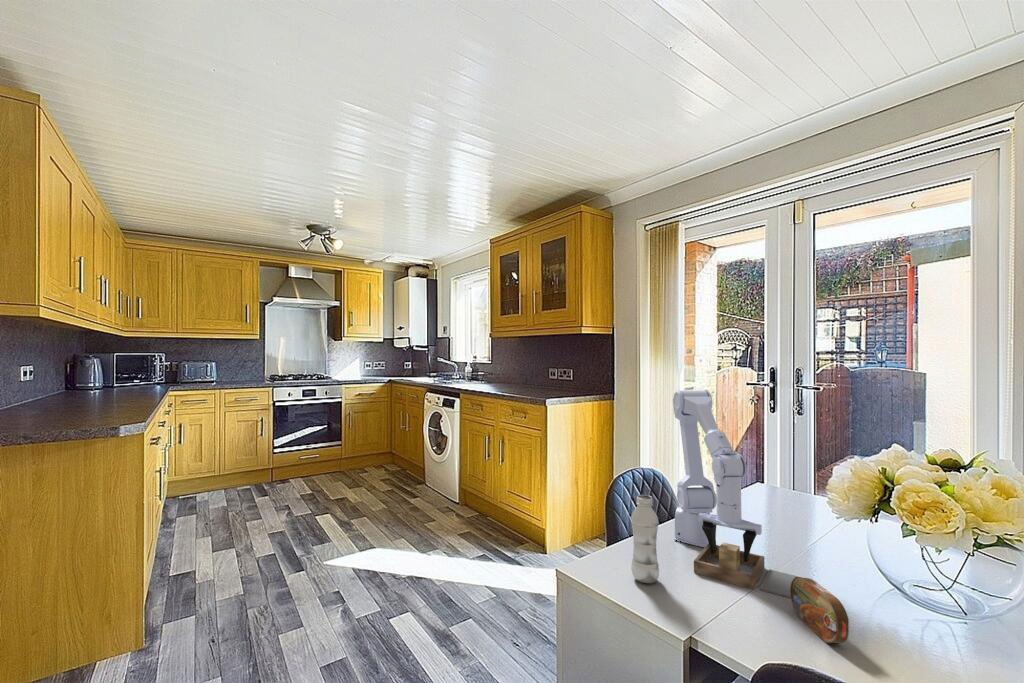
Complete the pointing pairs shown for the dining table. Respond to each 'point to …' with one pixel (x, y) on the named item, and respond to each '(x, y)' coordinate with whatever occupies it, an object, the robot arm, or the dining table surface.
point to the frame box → (727, 573)
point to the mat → (778, 583)
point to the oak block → (729, 556)
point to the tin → (819, 610)
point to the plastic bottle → (644, 541)
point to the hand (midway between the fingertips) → (729, 556)
